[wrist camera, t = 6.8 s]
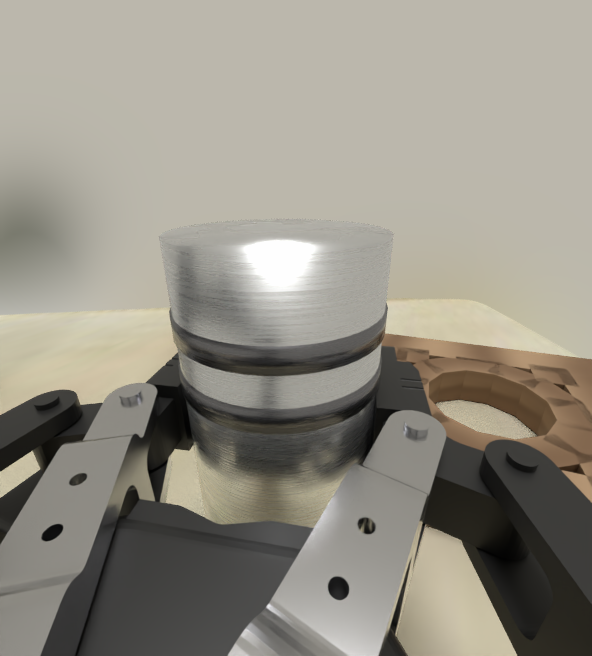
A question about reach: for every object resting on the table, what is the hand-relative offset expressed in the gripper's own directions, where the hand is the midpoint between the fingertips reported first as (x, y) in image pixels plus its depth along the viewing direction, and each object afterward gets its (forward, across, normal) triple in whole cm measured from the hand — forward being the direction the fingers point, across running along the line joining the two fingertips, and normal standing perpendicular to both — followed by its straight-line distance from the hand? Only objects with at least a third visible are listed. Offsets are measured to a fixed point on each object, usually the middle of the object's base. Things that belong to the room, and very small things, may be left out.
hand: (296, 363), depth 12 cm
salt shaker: (-3, 0, +7) cm, 7 cm away
